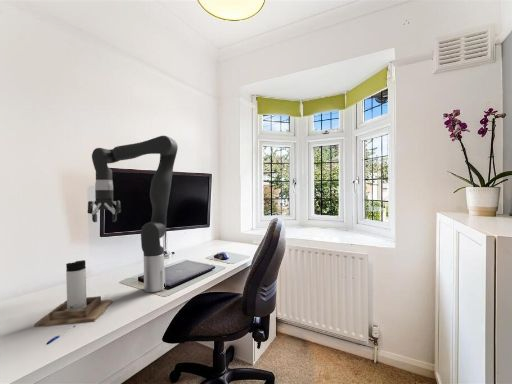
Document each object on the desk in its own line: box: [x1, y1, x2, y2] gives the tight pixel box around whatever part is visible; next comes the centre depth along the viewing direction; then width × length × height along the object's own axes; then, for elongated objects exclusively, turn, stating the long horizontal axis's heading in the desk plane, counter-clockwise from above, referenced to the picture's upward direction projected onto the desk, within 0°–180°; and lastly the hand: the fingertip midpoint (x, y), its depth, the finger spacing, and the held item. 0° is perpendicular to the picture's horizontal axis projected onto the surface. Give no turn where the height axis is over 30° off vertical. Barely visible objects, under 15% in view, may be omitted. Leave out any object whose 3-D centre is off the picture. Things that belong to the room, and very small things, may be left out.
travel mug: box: [65, 259, 87, 311], centre depth 98 cm, size 6×7×20 cm
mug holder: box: [34, 295, 113, 327], centre depth 98 cm, size 20×16×4 cm
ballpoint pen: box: [46, 325, 76, 345], centre depth 84 cm, size 10×1×1 cm, turn 174°
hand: (104, 221), depth 122 cm, fingers open, 8 cm apart
